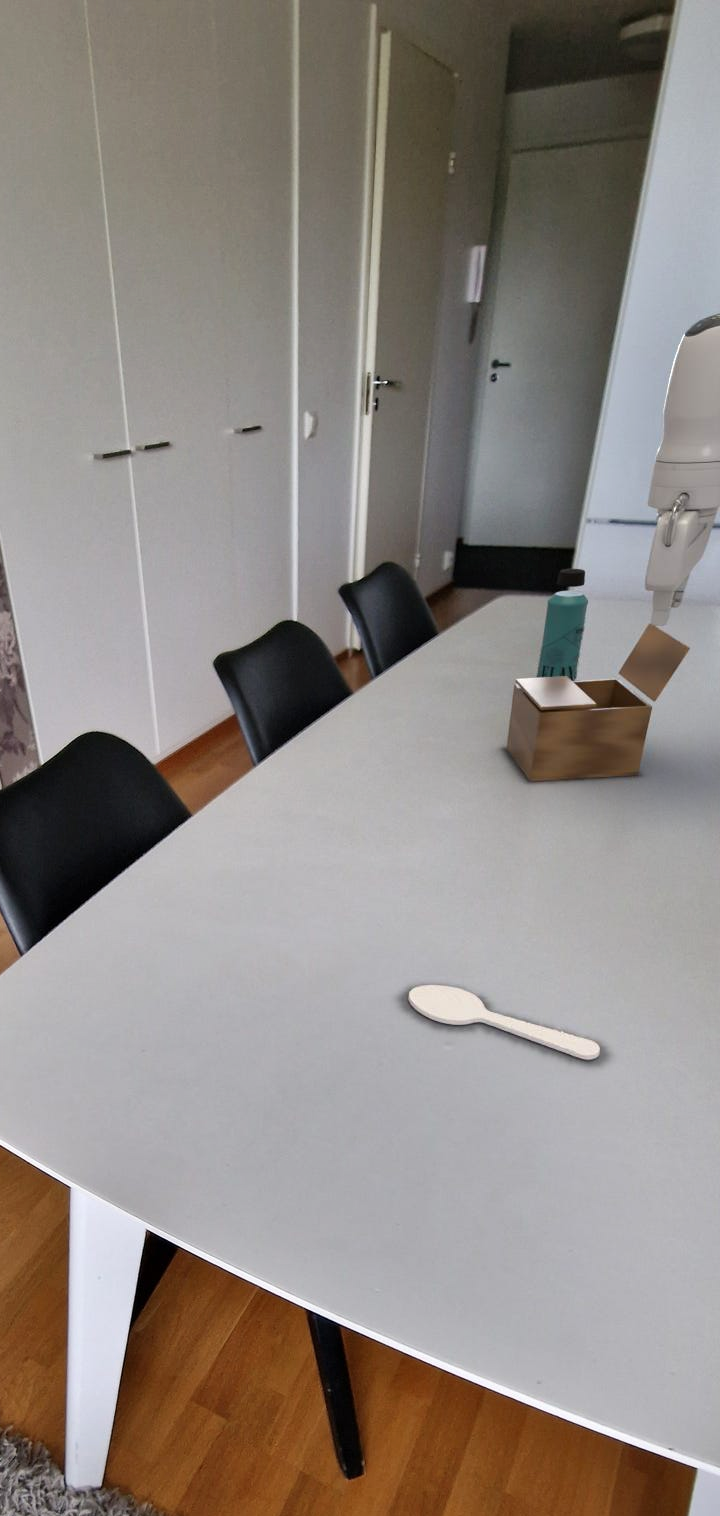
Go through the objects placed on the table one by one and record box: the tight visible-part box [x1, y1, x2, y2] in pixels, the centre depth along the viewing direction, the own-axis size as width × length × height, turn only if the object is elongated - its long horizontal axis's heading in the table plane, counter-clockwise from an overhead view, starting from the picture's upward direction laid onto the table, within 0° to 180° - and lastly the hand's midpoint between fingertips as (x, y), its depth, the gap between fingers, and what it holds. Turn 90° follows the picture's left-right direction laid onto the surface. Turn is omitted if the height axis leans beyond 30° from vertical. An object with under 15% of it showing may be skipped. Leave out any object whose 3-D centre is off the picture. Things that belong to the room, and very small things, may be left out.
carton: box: [505, 676, 653, 782], centre depth 131 cm, size 15×13×10 cm
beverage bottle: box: [535, 568, 589, 681], centre depth 150 cm, size 6×7×20 cm
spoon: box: [408, 983, 601, 1061], centre depth 84 cm, size 5×18×1 cm, turn 55°
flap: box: [618, 622, 691, 703], centre depth 125 cm, size 7×13×1 cm
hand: (666, 615), depth 115 cm, fingers open, 8 cm apart
